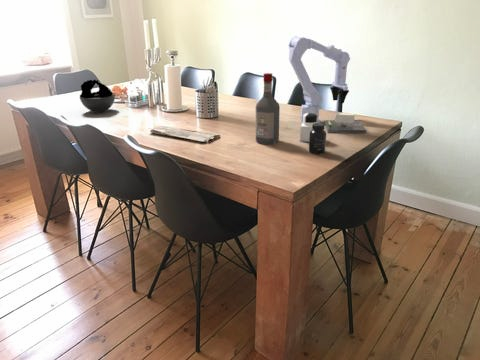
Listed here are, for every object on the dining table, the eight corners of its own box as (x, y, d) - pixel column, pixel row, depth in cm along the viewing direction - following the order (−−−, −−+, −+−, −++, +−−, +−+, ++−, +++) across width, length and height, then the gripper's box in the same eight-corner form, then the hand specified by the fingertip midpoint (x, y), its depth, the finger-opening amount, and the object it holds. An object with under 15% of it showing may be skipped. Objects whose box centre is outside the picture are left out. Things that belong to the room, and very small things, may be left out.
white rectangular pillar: (353, 125, 194) (354, 114, 191) (334, 125, 195) (335, 114, 193) (353, 124, 196) (354, 113, 194) (334, 123, 198) (335, 112, 196)
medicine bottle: (317, 138, 182) (319, 112, 177) (315, 142, 175) (316, 116, 171) (302, 136, 184) (303, 111, 179) (299, 141, 178) (300, 115, 173)
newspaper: (220, 138, 185) (219, 130, 184) (205, 145, 176) (205, 138, 174) (161, 129, 201) (161, 122, 200) (145, 135, 192) (144, 128, 190)
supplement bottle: (306, 149, 167) (308, 122, 162) (322, 149, 167) (324, 121, 163) (310, 155, 161) (312, 126, 156) (327, 154, 161) (329, 126, 156)
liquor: (271, 145, 173) (272, 76, 161) (253, 142, 177) (253, 74, 165) (280, 140, 180) (282, 73, 168) (263, 137, 184) (263, 71, 172)
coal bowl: (87, 108, 245) (81, 78, 238) (119, 107, 247) (115, 76, 239) (78, 116, 227) (72, 83, 219) (113, 115, 229) (109, 82, 221)
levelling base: (327, 132, 189) (328, 127, 188) (323, 123, 205) (323, 117, 204) (365, 133, 187) (366, 127, 186) (358, 123, 204) (359, 117, 203)
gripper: (354, 77, 197) (351, 104, 203) (341, 73, 210) (339, 98, 216) (341, 78, 196) (339, 105, 201) (329, 73, 209) (327, 99, 214)
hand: (338, 101), depth 209 cm, fingers open, 7 cm apart
